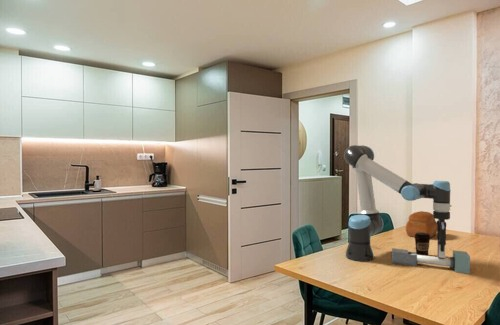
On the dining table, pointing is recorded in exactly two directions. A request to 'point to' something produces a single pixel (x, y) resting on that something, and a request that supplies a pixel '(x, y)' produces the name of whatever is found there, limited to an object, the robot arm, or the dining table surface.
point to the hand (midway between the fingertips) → (441, 255)
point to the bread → (421, 224)
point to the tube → (436, 260)
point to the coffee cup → (422, 243)
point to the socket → (461, 262)
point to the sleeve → (404, 257)
